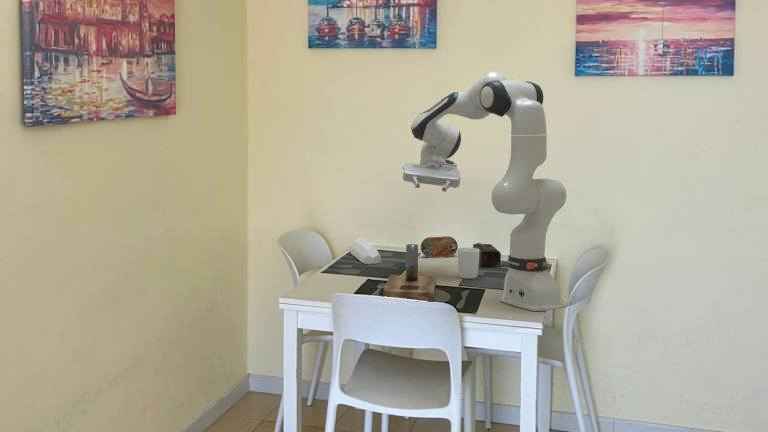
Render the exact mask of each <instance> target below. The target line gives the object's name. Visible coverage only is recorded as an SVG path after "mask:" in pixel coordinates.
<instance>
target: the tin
mask: <svg viewBox="0 0 768 432" xmlns="http://www.w3.org/2000/svg"><path fill="white" fill-rule="evenodd" d="M458 246H459V245H458V242H457V240H456V239H455V238H454V237H452V236H448V235H446V236H445V235H444V236H429V237H426V238H424V239H423V240H422V241H421V243H420V252H421V253H422V255H424V256H425V257H426V258H429V259H436V258H437V259H438V258H439V259H440V257H442V258H451V257H454V255H456V253H457V252H458V249H459V248H458Z"/></svg>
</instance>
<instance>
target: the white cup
mask: <svg viewBox="0 0 768 432" xmlns="http://www.w3.org/2000/svg"><path fill="white" fill-rule="evenodd" d="M479 252H480V250H479V249H477V248H473V247H459V248H458V249H457V268H458V277H459V278H460V279H468V280H469V279H472V280H473V279H477V278H478V274H479V273H478V271H479Z"/></svg>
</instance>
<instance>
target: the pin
mask: <svg viewBox="0 0 768 432" xmlns="http://www.w3.org/2000/svg"><path fill="white" fill-rule="evenodd" d="M405 254H406V255H405V259H406V260H405V275H406V281H418V276H419V275H418V273H419V245H418V244H417V243H408V244H406V251H405Z"/></svg>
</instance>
